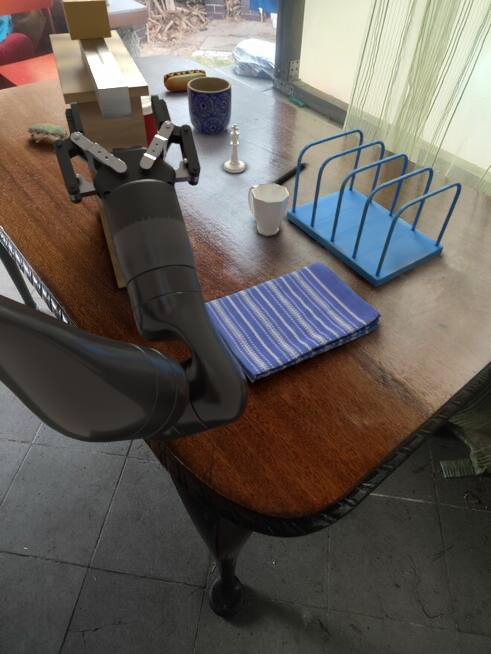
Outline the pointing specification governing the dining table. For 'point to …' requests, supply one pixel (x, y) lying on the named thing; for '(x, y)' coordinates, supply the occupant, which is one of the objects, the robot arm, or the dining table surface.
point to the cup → (268, 206)
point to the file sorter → (368, 220)
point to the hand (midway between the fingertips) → (114, 103)
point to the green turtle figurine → (48, 131)
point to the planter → (209, 104)
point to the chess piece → (234, 154)
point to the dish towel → (290, 319)
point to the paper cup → (148, 119)
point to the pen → (288, 174)
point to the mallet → (98, 54)
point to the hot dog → (181, 79)
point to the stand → (94, 125)
